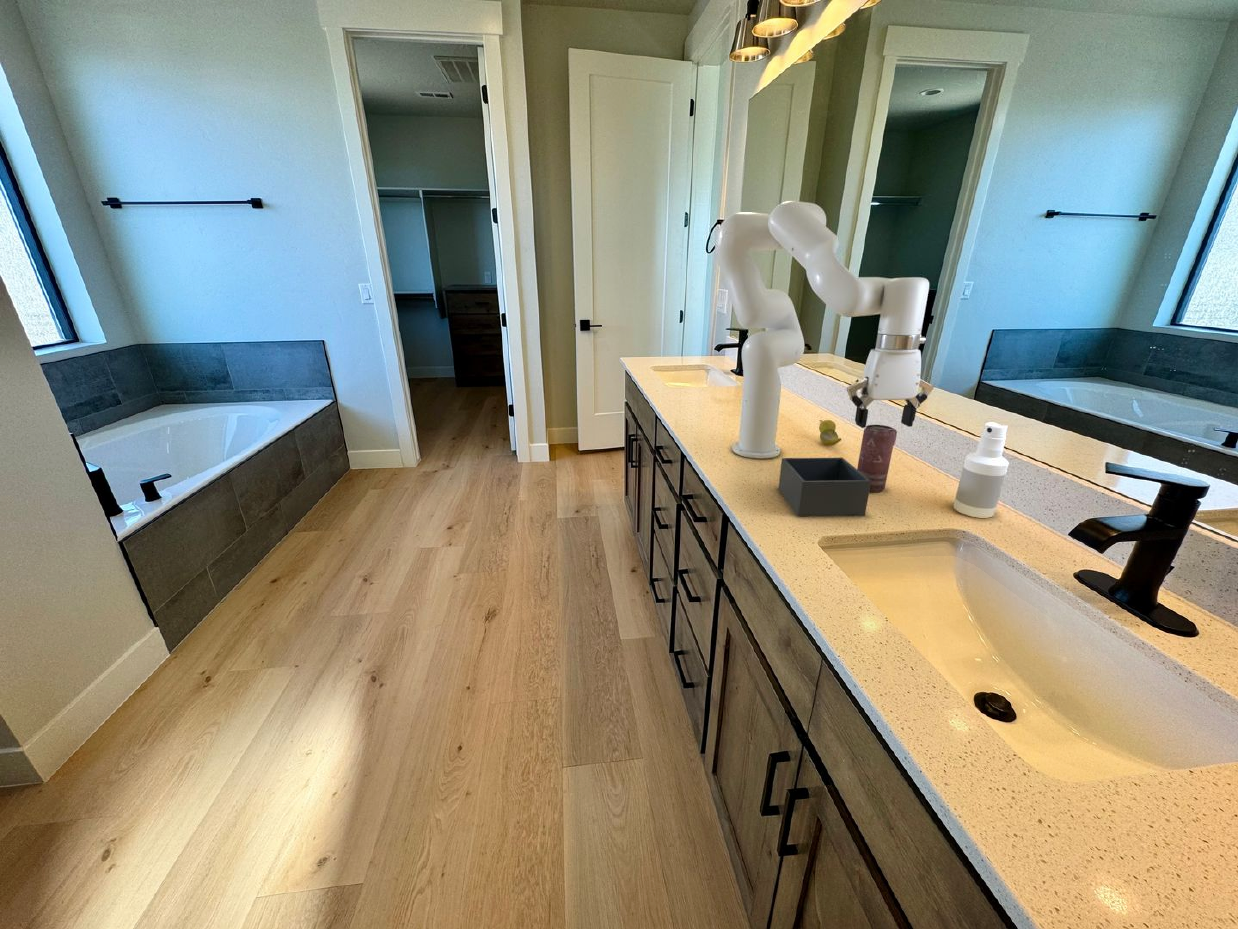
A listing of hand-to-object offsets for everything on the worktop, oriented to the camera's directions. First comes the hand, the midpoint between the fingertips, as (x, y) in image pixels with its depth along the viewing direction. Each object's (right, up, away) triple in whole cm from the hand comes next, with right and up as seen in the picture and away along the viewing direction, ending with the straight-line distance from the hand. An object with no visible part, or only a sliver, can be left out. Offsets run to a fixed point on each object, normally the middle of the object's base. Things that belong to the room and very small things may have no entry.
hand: (883, 425), depth 104 cm
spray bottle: (+15, -18, -6) cm, 24 cm away
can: (0, -14, +6) cm, 15 cm away
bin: (-14, -16, -1) cm, 21 cm away
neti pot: (+2, -3, +34) cm, 34 cm away
